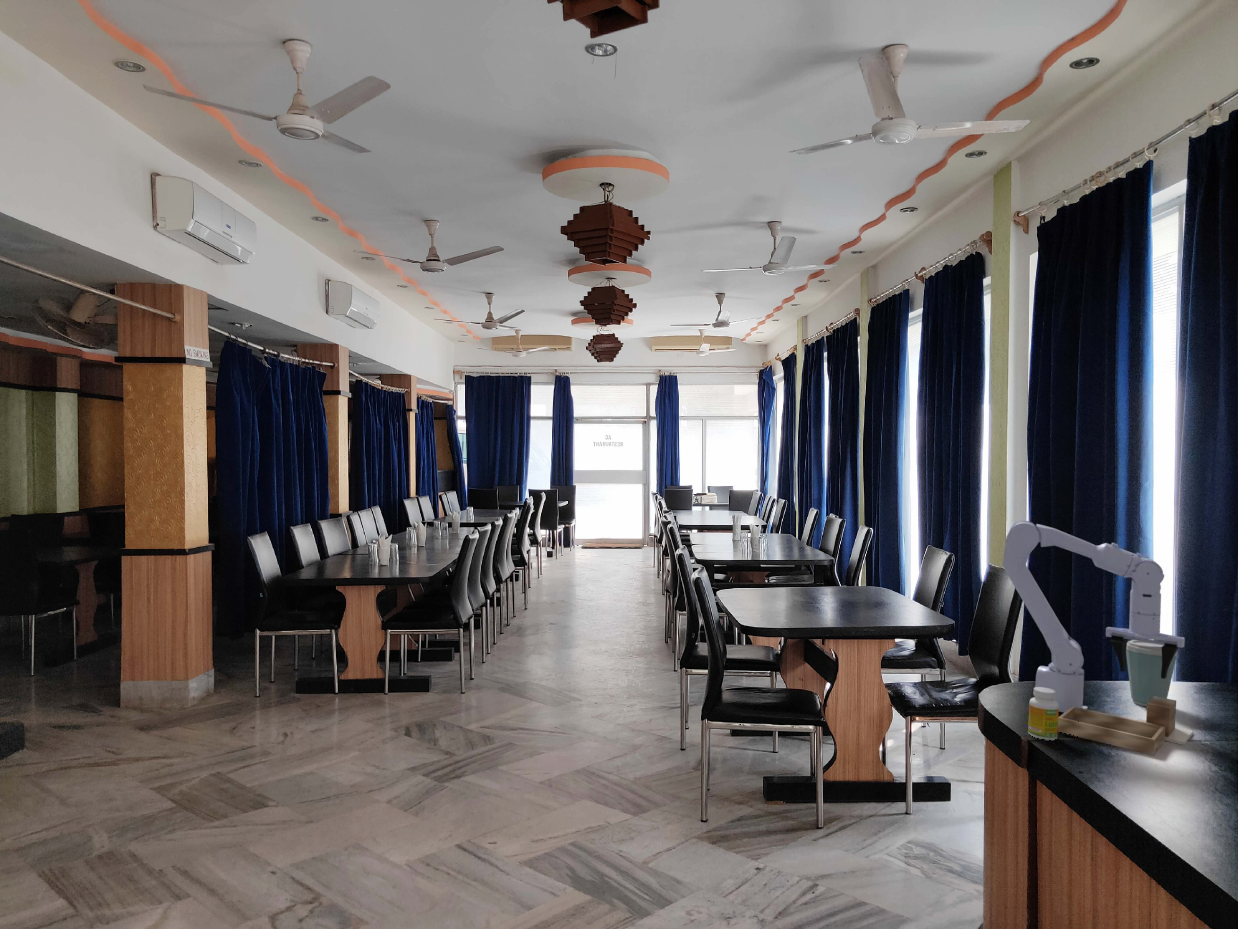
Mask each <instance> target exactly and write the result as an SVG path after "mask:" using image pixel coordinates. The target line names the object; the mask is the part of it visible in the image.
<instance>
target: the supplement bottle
mask: <svg viewBox="0 0 1238 929" xmlns="http://www.w3.org/2000/svg"><path fill="white" fill-rule="evenodd" d="M1032 694H1033V696H1034V697H1031V698H1030V700H1029V704H1028V723H1027V724H1028V726H1027V729H1028V730H1027V733H1028V735H1029V734H1030V735H1031V736H1030V735H1029V736H1030V737H1032V736H1033V737H1032V738H1034V737H1035V738H1034V739H1037V738H1039V739H1038V740H1041V739H1045V740H1044V741H1049V740H1051V741H1055V739H1056V740H1057V739H1058V733H1059V732H1058V717H1059V705H1058V703H1057V702H1056V701H1054V699H1055V691H1054V690H1052V689H1049V688H1044V687H1033V693H1032Z"/></svg>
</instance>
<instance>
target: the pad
mask: <svg viewBox="0 0 1238 929" xmlns="http://www.w3.org/2000/svg"><path fill="white" fill-rule="evenodd" d="M1136 720H1137V721H1142V722H1146V719H1142V718H1137V719H1136ZM1193 733H1194V730H1192V729H1188V728H1184V727H1178V726H1175V729H1174V730H1173V732H1172V733H1171V734H1170V736H1169V737H1165V741H1164V742H1169V743H1174V744H1179V745H1182V746H1186V744H1188V743H1187V742H1188V741H1189V740H1190V738H1191V737H1192V735H1193ZM1188 739H1189V740H1188Z"/></svg>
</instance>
